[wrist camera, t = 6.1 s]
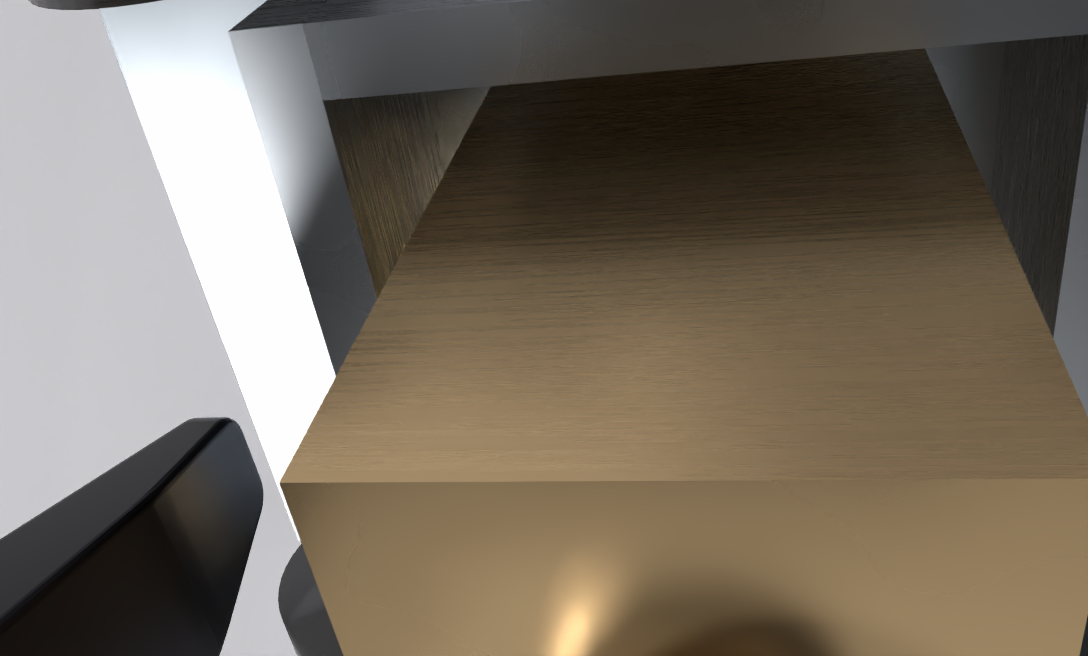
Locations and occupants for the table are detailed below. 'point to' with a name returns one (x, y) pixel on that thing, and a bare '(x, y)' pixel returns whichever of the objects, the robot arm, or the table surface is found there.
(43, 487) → the table surface
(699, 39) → the chassis
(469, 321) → the wooden block with knob
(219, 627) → the robot arm
